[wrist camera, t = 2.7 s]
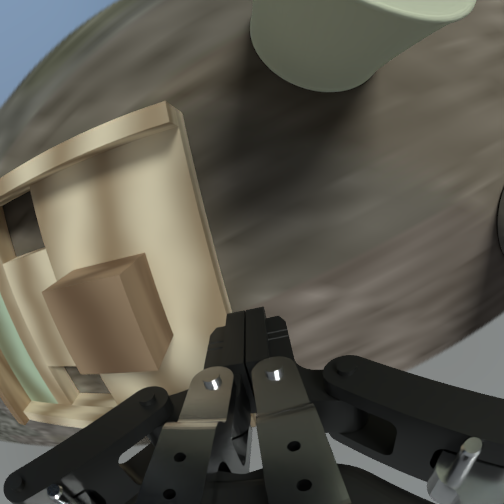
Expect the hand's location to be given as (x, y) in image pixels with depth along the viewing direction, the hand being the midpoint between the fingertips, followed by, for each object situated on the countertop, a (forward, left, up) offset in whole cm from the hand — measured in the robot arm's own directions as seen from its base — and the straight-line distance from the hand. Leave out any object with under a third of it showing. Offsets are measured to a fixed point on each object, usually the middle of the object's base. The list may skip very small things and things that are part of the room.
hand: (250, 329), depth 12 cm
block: (+9, 0, -7) cm, 11 cm away
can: (-8, -15, -9) cm, 19 cm away
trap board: (+15, 0, -9) cm, 17 cm away
